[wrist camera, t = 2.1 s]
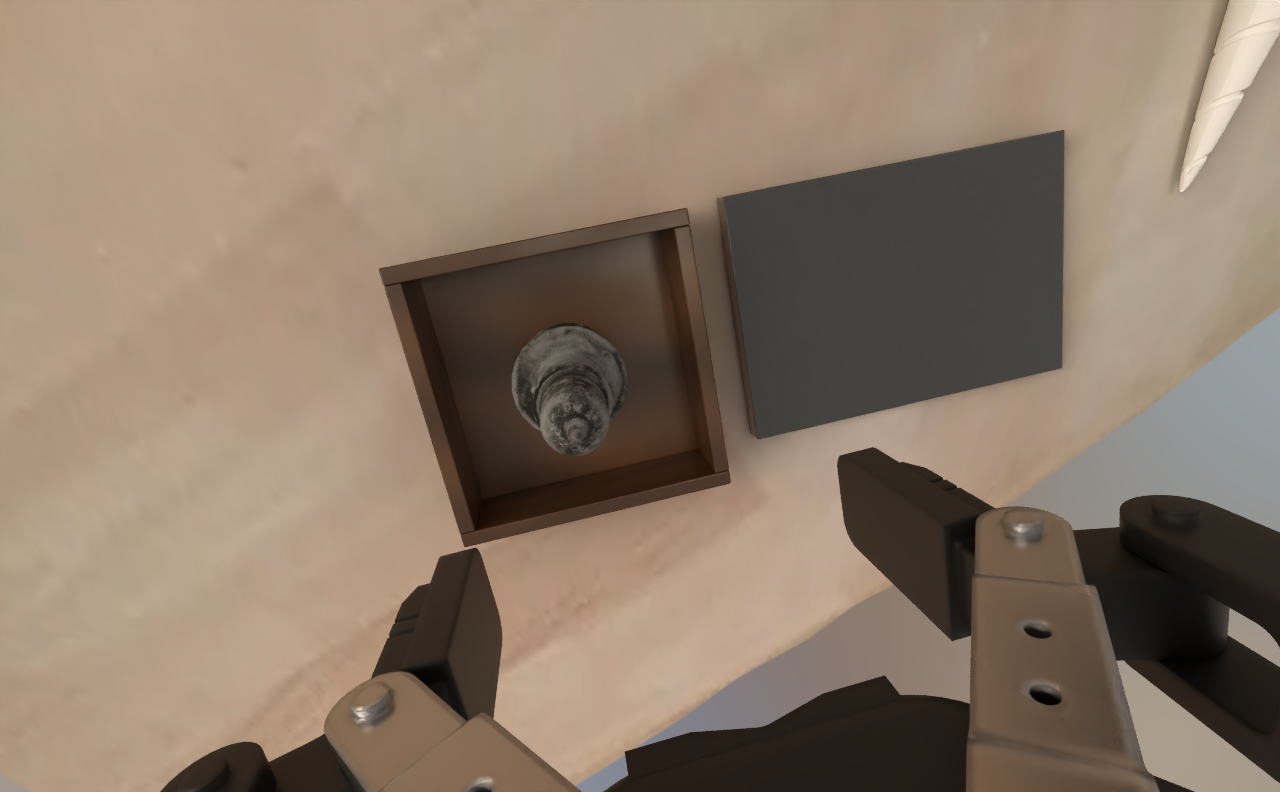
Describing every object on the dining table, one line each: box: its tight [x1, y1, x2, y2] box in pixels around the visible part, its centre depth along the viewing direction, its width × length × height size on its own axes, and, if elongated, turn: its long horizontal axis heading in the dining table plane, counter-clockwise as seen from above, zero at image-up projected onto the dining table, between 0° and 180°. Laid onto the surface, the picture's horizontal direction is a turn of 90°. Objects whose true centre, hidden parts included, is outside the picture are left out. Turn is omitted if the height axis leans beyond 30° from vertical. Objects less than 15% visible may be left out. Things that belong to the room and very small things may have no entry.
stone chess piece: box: [511, 323, 628, 456], centre depth 28 cm, size 6×6×12 cm
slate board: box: [717, 130, 1064, 439], centre depth 35 cm, size 14×20×1 cm
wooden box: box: [379, 208, 731, 547], centre depth 32 cm, size 15×15×4 cm
